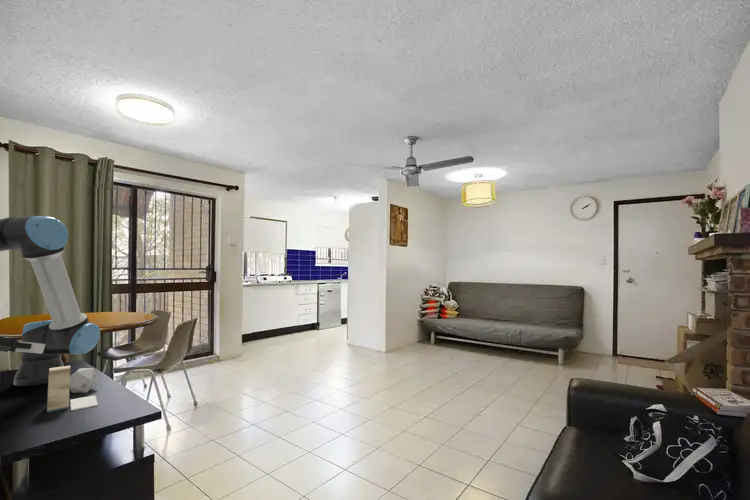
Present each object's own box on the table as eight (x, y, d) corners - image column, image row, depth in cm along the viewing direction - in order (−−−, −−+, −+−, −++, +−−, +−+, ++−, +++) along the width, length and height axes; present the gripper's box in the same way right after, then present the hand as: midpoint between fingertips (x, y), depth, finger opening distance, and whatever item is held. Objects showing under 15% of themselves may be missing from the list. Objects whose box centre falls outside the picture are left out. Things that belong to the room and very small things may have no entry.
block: (47, 407, 115) (49, 368, 116) (68, 404, 118) (70, 365, 119) (46, 412, 111) (48, 371, 112) (68, 408, 114) (70, 368, 115)
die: (72, 399, 125) (94, 373, 128) (54, 385, 127) (77, 360, 130) (88, 400, 132) (109, 375, 136) (72, 387, 134) (93, 363, 138)
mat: (70, 400, 121) (70, 399, 121) (95, 396, 125) (95, 395, 125) (70, 410, 112) (71, 409, 112) (97, 405, 116) (97, 404, 116)
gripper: (-80, 354, 100) (32, 364, 118) (-71, 346, 94) (46, 358, 111) (-66, 327, 104) (40, 340, 121) (-57, 317, 97) (54, 333, 114)
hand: (43, 348), depth 116 cm, fingers closed
